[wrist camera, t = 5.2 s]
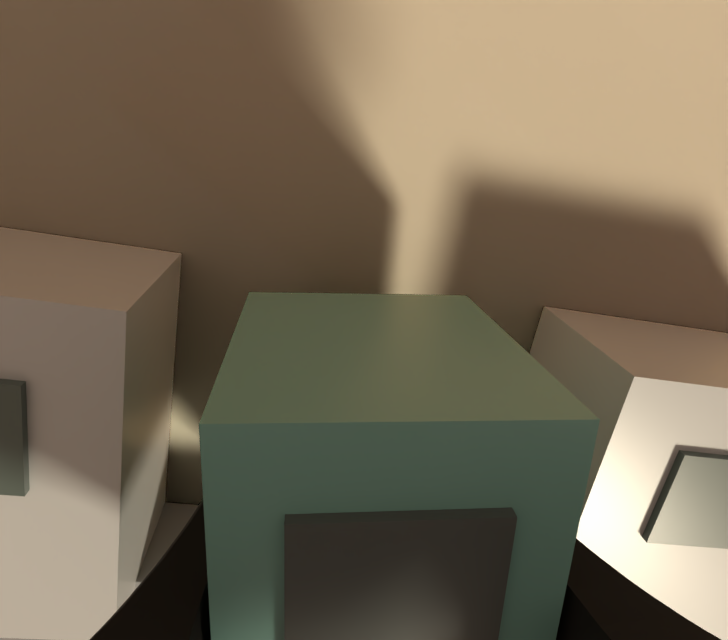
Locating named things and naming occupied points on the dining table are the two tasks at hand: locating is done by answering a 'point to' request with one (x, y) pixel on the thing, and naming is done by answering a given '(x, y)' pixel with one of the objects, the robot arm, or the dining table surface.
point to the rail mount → (166, 520)
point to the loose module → (387, 474)
